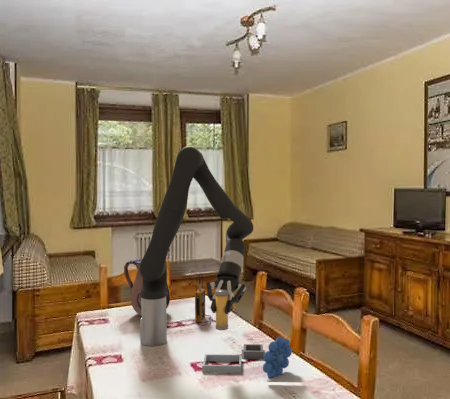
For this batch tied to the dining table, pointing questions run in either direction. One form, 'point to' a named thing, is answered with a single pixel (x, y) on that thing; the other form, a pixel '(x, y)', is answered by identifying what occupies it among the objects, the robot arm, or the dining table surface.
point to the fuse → (221, 309)
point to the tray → (221, 367)
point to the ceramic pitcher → (138, 287)
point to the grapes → (277, 357)
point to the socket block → (253, 351)
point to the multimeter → (200, 303)
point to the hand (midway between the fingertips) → (220, 312)
